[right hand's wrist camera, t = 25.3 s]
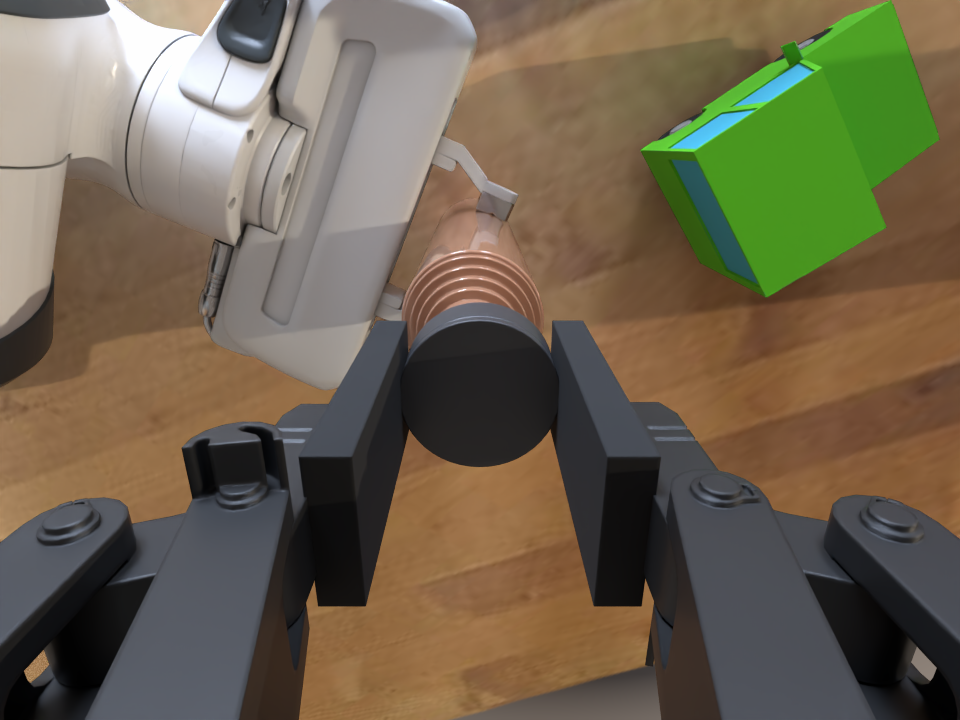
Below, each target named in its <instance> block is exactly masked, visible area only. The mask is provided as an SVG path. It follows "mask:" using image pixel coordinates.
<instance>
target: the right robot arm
mask: <svg viewBox="0 0 960 720" xmlns="http://www.w3.org/2000/svg"><path fill="white" fill-rule="evenodd" d="M408 354H409V350H408V329H407V321H376V323H375V325H374V326H373V328H372V330H371V332H370V333H369V335H368V337H367V339H366V340H365V342H364V344H363V346H362V347H361V349H360V351H359V352H358V354H357V356H356V358H355V359H354V361H353V363H352V365H351V366H350V368H349V370H348V372H347V373H346V375H345V377H344V379H343V380H342V382H341V384H340V385H339V387H338V389H337V391H336V392H335V394H334V396H333V398H332V399H331V401H330V403H329V404H300V405H299V406H297V407H296V408H294V409H292V410H291V411H289V412H287V413H286V414H284V415H283V416H282V417H281V418H280V420H279V421H278V423H277V424H276V425H275V426H274V425H271V424H267V423H263V422H238V423H232V424H225V425H221V426H218V427H215V428H212V429H209V430H206V431H204V432H202V433H200V434H198V435H197V436H195V437H193V438H191V439H190V440H189V441H188V442H187V443H186V444H185V445H184V446H183V447H182V452H183V457H184V461H185V466H186V471H187V475H188V480H189V485H190V489H191V494H192V498H193V499H192V501H191V503H190V506H189V508H188V510H187V512H186V513H183V514H179V515H175V516H171V517H165V518H160V519H155V520H150V521H144V522H139V523H134V524H132V522H131V518H130V515H129V511H128V507H127V506H126V505H125V504H123V503H122V502H121V501H120V500H115V499H110V498H91V499H80V500H75V502H72V501H70V502H67V503H64V504H61V505H59V506H57V507H56V508H53V509H51V510H48V511H46V512H44V513H41V514H39V515H38V516H36V517H35V518H33V519H31V520H30V521H28V522H27V523H25V524H23V525H22V526H21V527H19V528H18V529H17V530H16V531H14V532H13V533H12V534H10V535H9V536H8V537H7V538H5V539H4V540H3V541H1V542H0V720H299V713H300V704H301V696H302V687H303V679H304V670H305V662H306V654H307V645H308V637H309V621H308V614H307V607H306V602H307V599H308V596H309V594H310V591H311V588H312V586H313V583H314V580H315V587H316V594H317V602H318V606H366V603H367V599H368V595H369V591H370V587H371V583H372V579H373V575H374V571H375V567H376V562H377V558H378V554H379V550H380V546H381V542H382V538H383V534H384V530H385V526H386V522H387V518H388V513H389V509H390V505H391V501H392V497H393V493H394V489H395V485H396V481H397V477H398V473H399V469H400V465H401V460H402V456H403V452H404V448H405V444H406V440H407V436H408V432H409V428H408V426H407V424H406V422H405V420H404V417H403V415H402V404H401V385H400V379H401V375H402V372H403V369H404V366H405V363H406V360H407V357H408ZM551 356H552V359H553V362H554V365H555V368H556V371H557V374H558V377H559V397H558V412H557V416H556V418H555V421H554V423H553V425H552V427H551V428H550V429H551V433H552V437H553V442H554V446H555V450H556V454H557V458H558V462H559V466H560V470H561V474H562V478H563V482H564V486H565V491H566V495H567V499H568V503H569V507H570V511H571V515H572V519H573V523H574V527H575V531H576V535H577V539H578V544H579V548H580V552H581V556H582V560H583V564H584V568H585V572H586V576H587V580H588V584H589V588H590V593H591V597H592V601H593V605H594V606H642V599H643V591H644V584H645V579H646V581H647V584H648V586H649V589H650V592H651V594H652V597H653V600H654V607H653V614H652V621H651V628H650V635H649V642H648V649H647V656H646V663H645V665H647V666H653V662H654V661H655V669H656V677H657V686H658V694H659V703H660V711H661V720H960V539H959V538H958V537H956V536H955V535H954V534H952V533H951V532H950V531H949V530H947V529H946V528H945V527H943V526H942V525H941V524H940V523H938V522H937V521H935V520H933V519H932V518H930V517H929V516H927V515H925V514H924V513H922V512H921V511H919V510H916V509H914V508H911V507H909V506H907V505H904V504H903V503H901V502H899V501H896V500H893V499H889V498H888V499H886V498H885V497H879V496H865V495H852V496H847V497H841V498H840V499H839V500H837V501H836V502H835V503H834V504H833V505H832V509H831V513H830V517H829V520H828V521H824V520H818V519H813V518H808V517H803V516H797V515H792V514H787V513H783V512H779V511H775V510H773V509H772V507H771V505H770V503H769V500H768V498H767V497H766V496H765V495H764V494H763V492H762V491H761V490H760V489H759V488H758V487H756V486H755V485H753V484H752V483H750V482H749V481H747V480H746V479H743V478H741V477H738V476H736V475H733V474H730V473H728V472H722V471H719V470H718V469H717V468H716V466H715V465H714V464H713V462H712V461H711V459H710V458H709V457H708V455H707V454H706V452H705V451H704V450H703V448H702V447H701V446H700V444H699V443H698V441H695V437H694V436H693V435H692V433H691V432H690V430H687V426H686V425H685V424H684V422H683V421H682V419H681V418H680V417H679V415H678V414H677V413H675V412H674V411H672V410H671V409H669V408H667V407H666V406H664V405H662V404H661V403H659V402H629V400H628V398H627V397H626V395H625V393H624V391H623V390H622V388H621V386H620V384H619V383H618V381H617V379H616V377H615V376H614V374H613V372H612V371H611V369H610V367H609V365H608V364H607V362H606V360H605V358H604V357H603V355H602V353H601V351H600V350H599V348H598V346H597V344H596V343H595V341H594V339H593V338H592V336H591V334H590V332H589V331H588V329H587V327H586V325H585V324H584V322H583V321H552V342H551ZM916 647H918V648H919V649H920V650H921V651H922V652H923V653H924V654H925V656H926V657H927V658H928V659H929V660H930V661H931V662H932V663H933V664H934V665H935V666H936V667H937V669H936V672H935V674H934V677H933V678H932V680H931V681H929V680H928V679H927V678H925V677H924V676H923V675H922V674H921V673H920V672H919V671H918V670H917V669H916V668H915V666H914V665H913V664H912V663H911V661H912V658H913V655H914V653H915V650H916ZM43 650H44V651H45V654H46V657H47V660H48V662H49V666H48V667H47V668H46V669H45V670H44V672H43V673H42V674H41V675H40V676H39V677H37V678H36V679H35V680H34V681H32V682H31V683H30V682H29V681H28V680H27V678H26V676H25V673H24V670H25V669H26V668H27V667H28V666H29V665H30V664H31V663H32V662H33V660H34V659H35V658H36V657H37V656H38V655H39V654H40V653H41V652H42V651H43Z"/></svg>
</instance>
